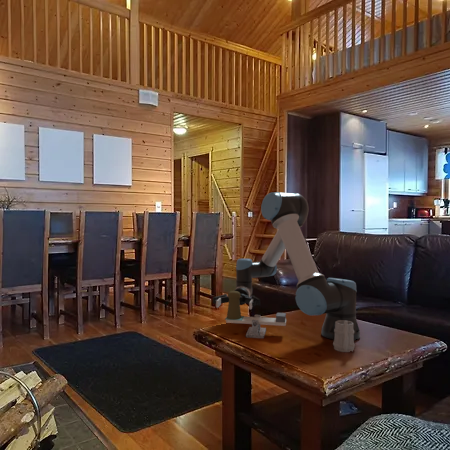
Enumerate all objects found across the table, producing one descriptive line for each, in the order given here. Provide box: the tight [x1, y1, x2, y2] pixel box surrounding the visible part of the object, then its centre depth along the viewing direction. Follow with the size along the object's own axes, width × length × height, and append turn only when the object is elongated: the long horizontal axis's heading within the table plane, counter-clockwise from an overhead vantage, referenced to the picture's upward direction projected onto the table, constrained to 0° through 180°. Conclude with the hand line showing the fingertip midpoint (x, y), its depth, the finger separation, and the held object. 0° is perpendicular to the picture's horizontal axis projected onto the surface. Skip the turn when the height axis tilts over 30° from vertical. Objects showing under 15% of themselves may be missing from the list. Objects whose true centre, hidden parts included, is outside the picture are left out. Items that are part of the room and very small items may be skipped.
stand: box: [245, 314, 267, 339], centre depth 174 cm, size 7×12×7 cm, turn 170°
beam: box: [224, 312, 287, 327], centre depth 174 cm, size 24×7×4 cm, turn 80°
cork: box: [226, 290, 242, 319], centre depth 176 cm, size 6×6×11 cm
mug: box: [332, 320, 356, 353], centre depth 153 cm, size 8×12×12 cm, turn 169°
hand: (233, 305), depth 172 cm, fingers open, 13 cm apart
